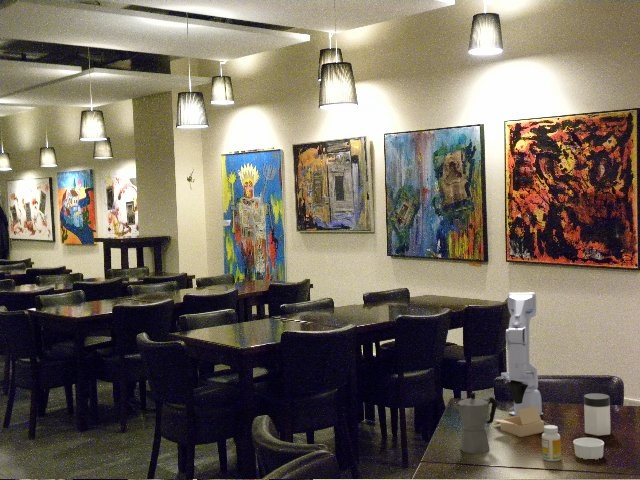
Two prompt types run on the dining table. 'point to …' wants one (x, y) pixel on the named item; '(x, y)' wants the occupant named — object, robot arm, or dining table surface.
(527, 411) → the flap
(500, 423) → the flap
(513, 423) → the flap
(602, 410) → the jar
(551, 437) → the supplement bottle
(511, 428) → the carton
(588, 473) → the dining table surface
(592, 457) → the ramekin
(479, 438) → the coffeepot
